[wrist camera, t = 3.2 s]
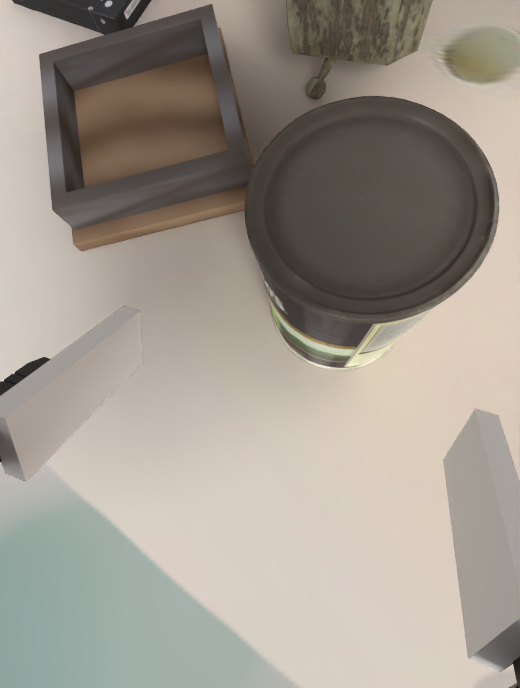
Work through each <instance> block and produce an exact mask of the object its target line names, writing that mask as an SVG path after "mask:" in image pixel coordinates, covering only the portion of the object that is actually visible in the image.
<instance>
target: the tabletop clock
mask: <svg viewBox="0 0 520 688" xmlns="http://www.w3.org/2000/svg"><path fill="white" fill-rule="evenodd" d="M431 4H432V0H286V5H287V20H288V30H289V39H290V45H291V49H292V53H294V54H302V55H310V56H317V57H325V61H324V63H323V66H322V68H321V71H320V74H319V76H318V77H314V78H312V79H311V80H310V82H309V83H308V85H307V93H308V95H309V96H310V97H311V98H312V99H319V98H321V97H322V95H323V94H324V93H325V91H326V86H325V82H324V79H325V77H326V75H327V74H328V72H329V71H330V69H331V67H332V66H333V64H334V62H335V61H336V59H341V60H349V61H357V62H365V63H373V64H381V65H389V64H391V63H393V62H395V61H397V60H399V59H401V58H403V57H405V56H407V55H409V54H411V53H413V52H415V51H417V50H418V46H419V43H420V40H421V37H422V34H423V30H424V27H425V24H426V20H427V17H428V14H429V10H430V7H431Z"/></svg>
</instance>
